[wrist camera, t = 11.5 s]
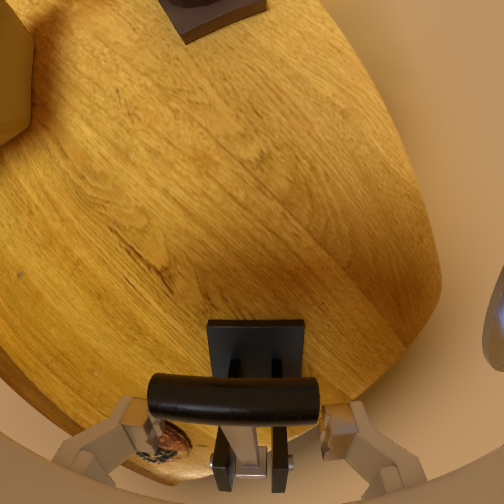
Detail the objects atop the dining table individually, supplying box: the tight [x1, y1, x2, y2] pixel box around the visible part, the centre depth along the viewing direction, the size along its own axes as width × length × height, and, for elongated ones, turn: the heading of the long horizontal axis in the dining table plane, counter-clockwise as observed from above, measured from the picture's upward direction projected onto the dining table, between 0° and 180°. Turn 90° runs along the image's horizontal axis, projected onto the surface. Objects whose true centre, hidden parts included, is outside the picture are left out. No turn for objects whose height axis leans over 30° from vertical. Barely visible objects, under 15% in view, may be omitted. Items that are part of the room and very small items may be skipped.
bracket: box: [206, 320, 305, 493], centre depth 21 cm, size 12×9×14 cm
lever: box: [147, 373, 320, 479], centre depth 12 cm, size 16×5×2 cm, turn 1°
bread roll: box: [134, 424, 191, 464], centre depth 31 cm, size 11×11×5 cm
